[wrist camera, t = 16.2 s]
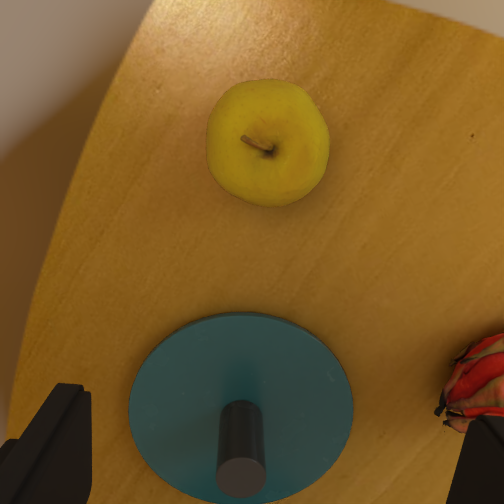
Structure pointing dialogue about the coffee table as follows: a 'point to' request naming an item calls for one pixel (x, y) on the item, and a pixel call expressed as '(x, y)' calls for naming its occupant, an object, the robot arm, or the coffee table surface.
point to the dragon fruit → (475, 384)
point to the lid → (240, 408)
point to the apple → (267, 142)
